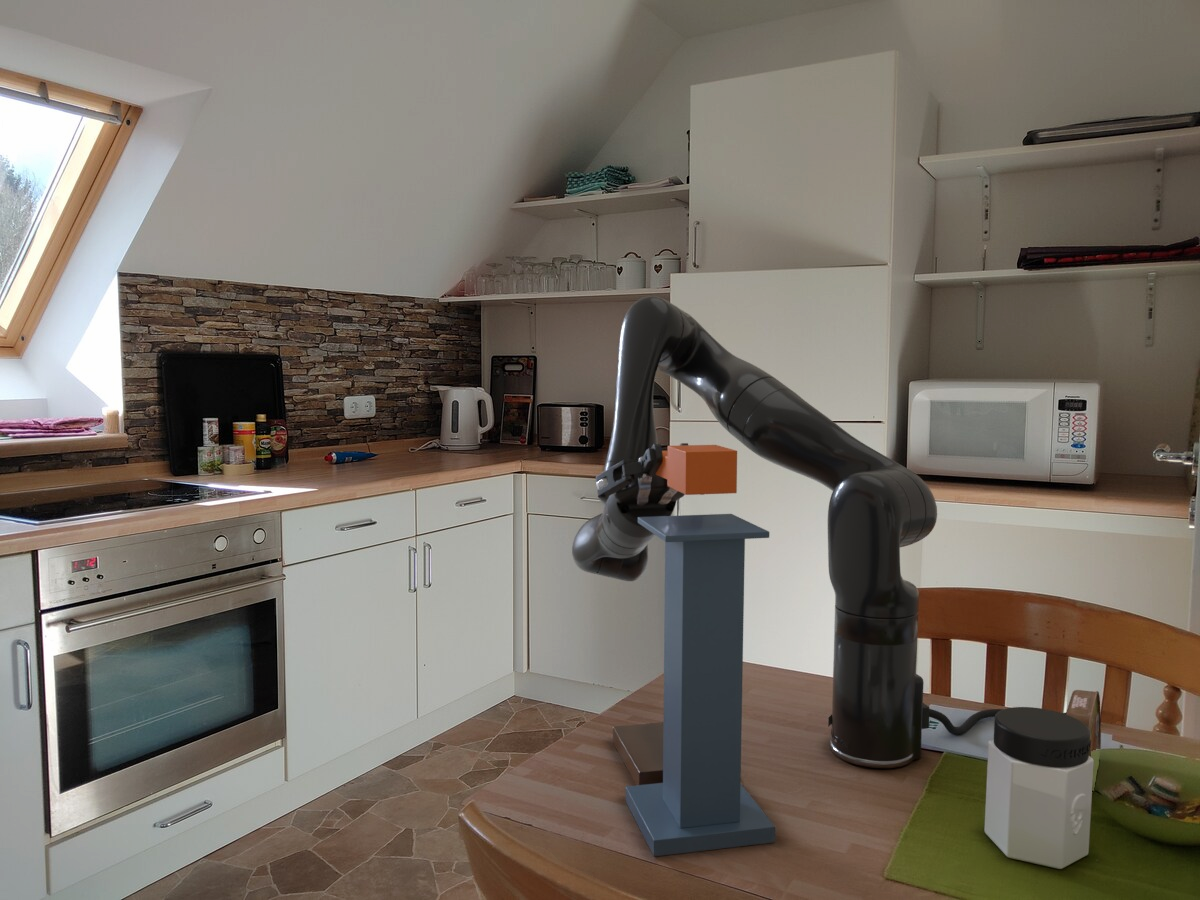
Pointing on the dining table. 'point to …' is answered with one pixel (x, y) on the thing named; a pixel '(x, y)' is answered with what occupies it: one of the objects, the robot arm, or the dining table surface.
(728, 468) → the orange toy mallet
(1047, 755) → the jar
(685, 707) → the stand
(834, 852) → the dining table surface
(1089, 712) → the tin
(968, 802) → the dining table surface
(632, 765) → the pad
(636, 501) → the robot arm
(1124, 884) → the dining table surface
